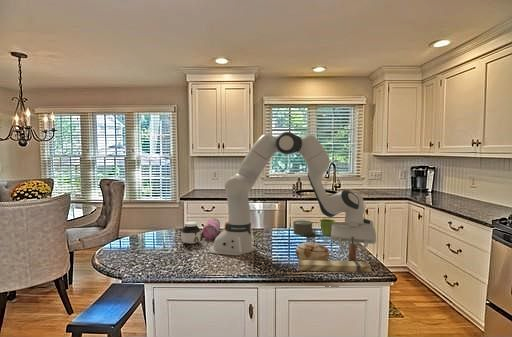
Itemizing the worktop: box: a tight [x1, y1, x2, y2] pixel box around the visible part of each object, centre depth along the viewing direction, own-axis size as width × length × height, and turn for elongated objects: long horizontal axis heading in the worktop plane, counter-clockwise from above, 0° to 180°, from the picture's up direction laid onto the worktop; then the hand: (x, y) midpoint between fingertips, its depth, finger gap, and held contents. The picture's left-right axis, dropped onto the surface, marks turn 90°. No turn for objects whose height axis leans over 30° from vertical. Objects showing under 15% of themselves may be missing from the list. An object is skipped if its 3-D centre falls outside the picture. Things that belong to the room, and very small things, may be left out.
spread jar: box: [180, 221, 201, 246], centre depth 179 cm, size 12×11×12 cm
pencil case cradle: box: [200, 226, 225, 240], centre depth 197 cm, size 13×23×3 cm, turn 176°
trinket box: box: [295, 241, 330, 261], centre depth 150 cm, size 13×15×8 cm
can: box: [292, 219, 313, 236], centre depth 201 cm, size 12×12×7 cm
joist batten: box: [297, 259, 372, 273], centre depth 138 cm, size 30×6×2 cm, turn 86°
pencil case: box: [202, 217, 221, 240], centre depth 196 cm, size 21×9×9 cm, turn 0°
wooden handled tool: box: [348, 237, 357, 261], centre depth 146 cm, size 3×3×12 cm
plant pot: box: [319, 218, 336, 237], centre depth 197 cm, size 9×9×9 cm
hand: (352, 249), depth 146 cm, fingers open, 8 cm apart
